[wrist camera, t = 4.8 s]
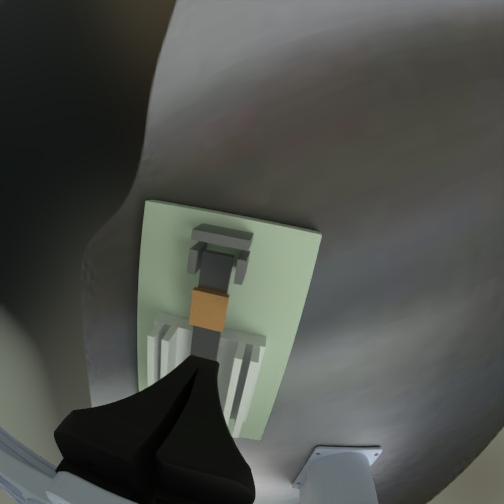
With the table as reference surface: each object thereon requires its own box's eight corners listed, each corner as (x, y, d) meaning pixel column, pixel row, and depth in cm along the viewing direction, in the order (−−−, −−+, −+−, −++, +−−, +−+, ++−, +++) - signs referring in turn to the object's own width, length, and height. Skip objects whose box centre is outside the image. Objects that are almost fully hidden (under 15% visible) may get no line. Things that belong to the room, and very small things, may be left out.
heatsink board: (261, 432, 25) (257, 467, 20) (144, 402, 25) (127, 432, 21) (319, 231, 20) (331, 246, 15) (152, 199, 20) (121, 205, 16)
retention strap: (208, 432, 22) (205, 442, 21) (183, 426, 22) (180, 436, 21) (238, 255, 18) (234, 260, 16) (202, 247, 18) (197, 252, 16)
